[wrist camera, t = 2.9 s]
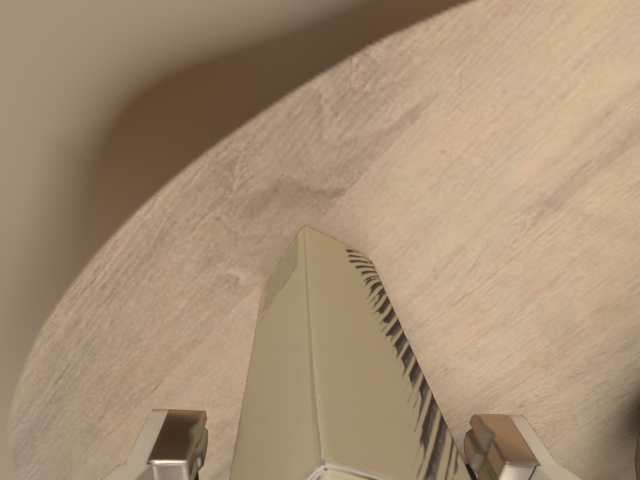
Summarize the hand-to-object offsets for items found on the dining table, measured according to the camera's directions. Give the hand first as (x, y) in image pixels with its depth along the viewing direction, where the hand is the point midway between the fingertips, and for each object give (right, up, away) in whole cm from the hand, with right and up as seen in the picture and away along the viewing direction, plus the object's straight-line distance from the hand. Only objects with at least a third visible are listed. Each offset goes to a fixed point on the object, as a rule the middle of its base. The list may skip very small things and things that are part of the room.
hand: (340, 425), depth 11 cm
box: (-1, +4, +9) cm, 10 cm away
